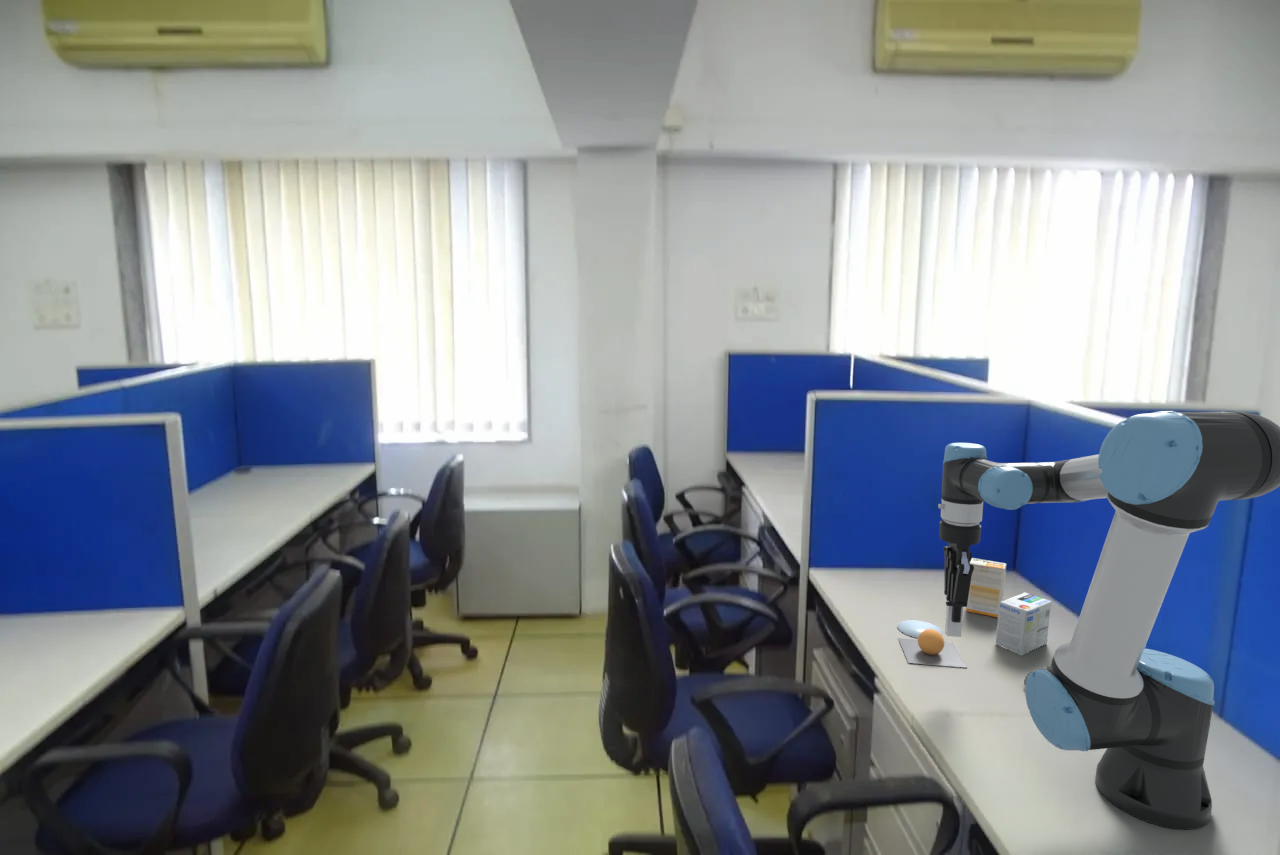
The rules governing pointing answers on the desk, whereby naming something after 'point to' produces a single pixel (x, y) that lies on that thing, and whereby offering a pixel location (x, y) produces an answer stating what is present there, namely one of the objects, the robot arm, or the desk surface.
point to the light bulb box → (1023, 623)
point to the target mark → (944, 658)
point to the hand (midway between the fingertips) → (953, 634)
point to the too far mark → (916, 627)
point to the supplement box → (986, 587)
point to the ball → (931, 641)
